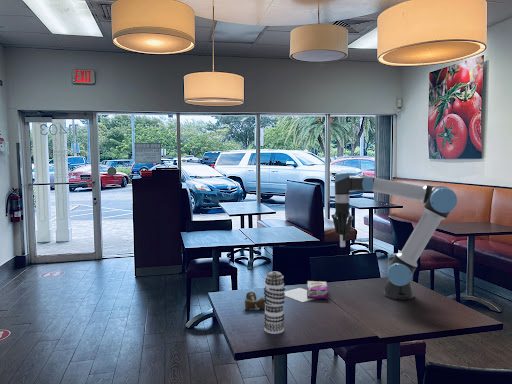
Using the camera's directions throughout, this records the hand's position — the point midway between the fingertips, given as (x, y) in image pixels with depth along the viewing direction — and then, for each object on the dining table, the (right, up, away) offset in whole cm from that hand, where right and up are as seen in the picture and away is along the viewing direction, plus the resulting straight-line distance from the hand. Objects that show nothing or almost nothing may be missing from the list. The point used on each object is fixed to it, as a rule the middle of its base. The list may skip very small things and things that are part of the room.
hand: (342, 246), depth 218 cm
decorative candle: (-38, -31, -41) cm, 64 cm away
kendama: (-47, -29, -13) cm, 57 cm away
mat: (-22, -27, +5) cm, 35 cm away
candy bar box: (-14, -25, -2) cm, 28 cm away
